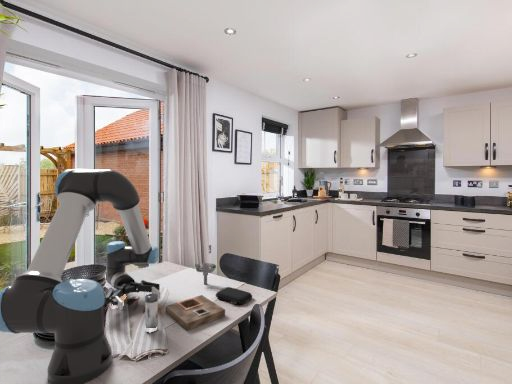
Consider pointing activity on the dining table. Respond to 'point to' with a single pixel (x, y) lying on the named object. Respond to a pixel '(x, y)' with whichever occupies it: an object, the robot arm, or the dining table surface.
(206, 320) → the socket board
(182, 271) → the dining table surface
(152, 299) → the metal cylinder
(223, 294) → the carrying case or bag
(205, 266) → the mechanical component
